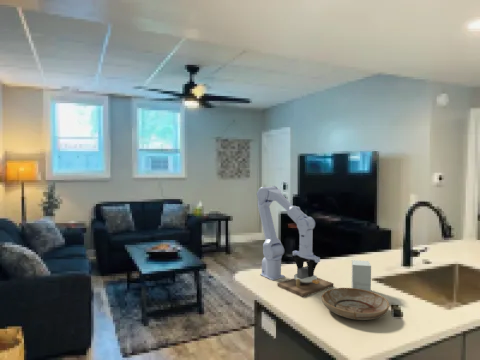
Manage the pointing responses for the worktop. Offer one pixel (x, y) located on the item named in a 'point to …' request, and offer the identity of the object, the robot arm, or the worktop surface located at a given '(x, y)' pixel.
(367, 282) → the supplement box
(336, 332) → the worktop surface
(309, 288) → the walnut base
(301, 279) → the flange disc
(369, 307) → the ceramic bowl
